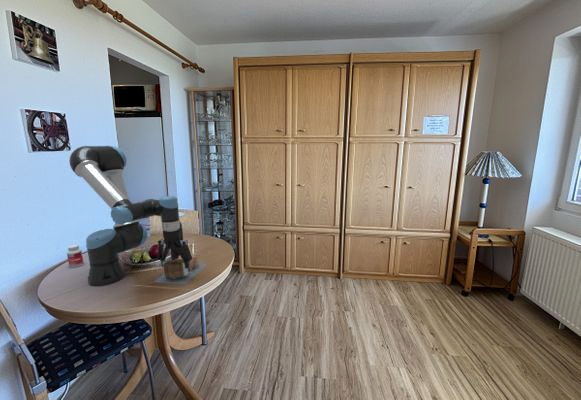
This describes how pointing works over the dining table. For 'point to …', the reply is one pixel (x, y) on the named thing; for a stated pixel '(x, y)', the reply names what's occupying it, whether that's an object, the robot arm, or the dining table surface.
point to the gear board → (181, 279)
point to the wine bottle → (175, 253)
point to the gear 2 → (191, 261)
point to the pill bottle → (75, 256)
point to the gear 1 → (173, 268)
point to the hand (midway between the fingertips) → (176, 273)
